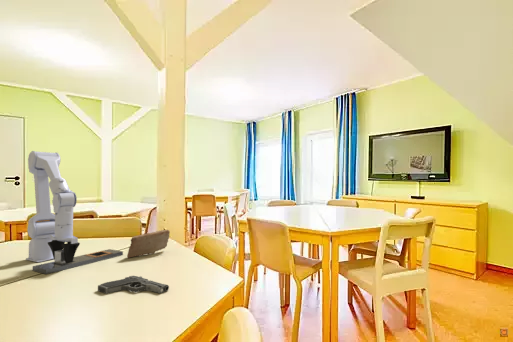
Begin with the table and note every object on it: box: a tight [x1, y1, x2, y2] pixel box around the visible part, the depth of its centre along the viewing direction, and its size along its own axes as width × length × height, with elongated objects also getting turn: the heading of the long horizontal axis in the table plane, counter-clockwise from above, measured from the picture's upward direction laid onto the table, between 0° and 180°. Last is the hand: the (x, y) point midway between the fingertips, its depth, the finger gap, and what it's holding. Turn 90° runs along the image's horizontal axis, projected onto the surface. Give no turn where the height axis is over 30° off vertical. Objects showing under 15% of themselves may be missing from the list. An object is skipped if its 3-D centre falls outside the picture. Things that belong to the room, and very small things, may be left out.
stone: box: [126, 229, 170, 259], centre depth 128 cm, size 19×10×4 cm
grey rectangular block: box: [54, 249, 72, 265], centre depth 110 cm, size 4×4×6 cm
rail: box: [31, 248, 124, 275], centre depth 116 cm, size 9×30×2 cm, turn 152°
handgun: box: [97, 275, 170, 295], centre depth 86 cm, size 2×17×12 cm
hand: (63, 261), depth 110 cm, fingers open, 7 cm apart
